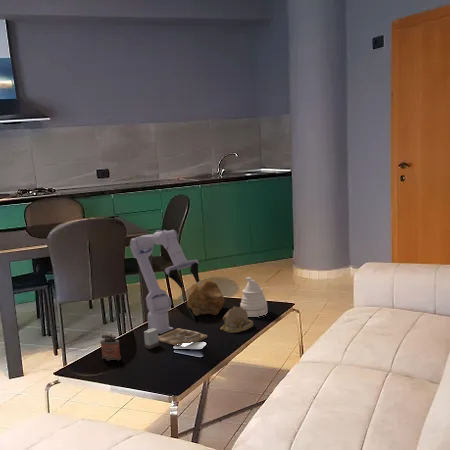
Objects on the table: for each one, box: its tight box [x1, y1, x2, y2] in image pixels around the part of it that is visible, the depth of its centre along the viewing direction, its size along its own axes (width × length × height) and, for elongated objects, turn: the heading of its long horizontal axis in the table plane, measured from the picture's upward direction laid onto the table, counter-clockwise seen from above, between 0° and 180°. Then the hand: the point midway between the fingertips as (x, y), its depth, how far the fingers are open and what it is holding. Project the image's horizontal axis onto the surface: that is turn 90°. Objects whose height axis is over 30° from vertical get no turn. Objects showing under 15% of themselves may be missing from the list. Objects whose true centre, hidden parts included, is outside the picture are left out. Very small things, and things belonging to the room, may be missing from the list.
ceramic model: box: [220, 305, 254, 333], centre depth 248 cm, size 14×11×10 cm
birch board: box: [158, 327, 208, 346], centre depth 239 cm, size 18×14×3 cm
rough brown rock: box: [186, 279, 225, 317], centre depth 273 cm, size 23×17×15 cm
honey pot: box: [239, 276, 269, 318], centre depth 266 cm, size 13×13×18 cm
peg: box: [143, 328, 160, 350], centre depth 232 cm, size 3×5×7 cm, turn 139°
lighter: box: [99, 334, 122, 361], centre depth 221 cm, size 8×3×10 cm, turn 71°
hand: (190, 284), depth 226 cm, fingers open, 7 cm apart
